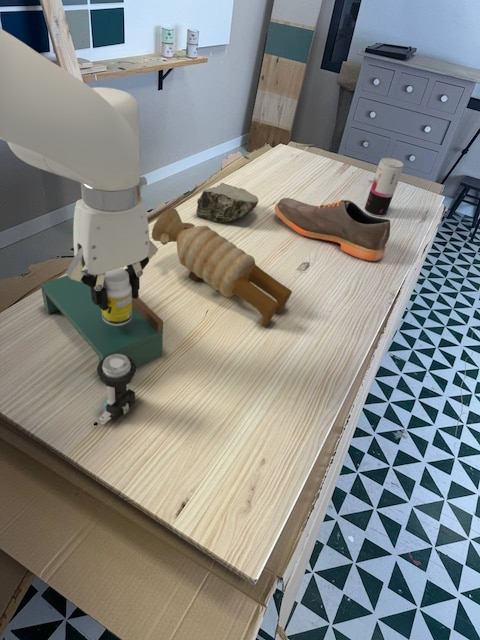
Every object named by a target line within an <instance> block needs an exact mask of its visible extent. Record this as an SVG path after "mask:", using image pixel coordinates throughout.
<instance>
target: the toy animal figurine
mask: <svg viewBox="0 0 480 640" xmlns="http://www.w3.org/2000/svg"><path fill="white" fill-rule="evenodd" d="M151 238H152V240H153V241H154V242H160V244H161V245H162V246H165V245H168V243H171V242H173V243H174V242H175V243H176V249H177V258H178V261H179V263H180V265H181V266H183V267H185V268H186V269H187V270H188V271H189V274H188V278H189V279H190V280H192V281H193V282H195V283H197V282H199V281H200V280H201V279H202V280H203V281H204V282H205V283H206V284H208V285H210V286H211V287H212V288H213V289H214V290H215V291H216V293H218V292H220V294H221V295H222V296H224V297H227V298H231V297H233V296H235V295H236V296H238V297H239V298H241V299H242V300H243V301H245V302H246V303H248V305H251V306H252V307H253V308H254V309H255V310H257V311H258V313H259V314H260V315H261V316H262V320H261V322H260V326H262V327H263V328H265V327H267V326H268V325H269V324H270V323H271V321H272V319H273V317H274V315H275V314H277V315H279V314H280V313H281V312H282V311H283V310H284V309H285V307H286V305H287V303H288V301H289V299H290V297H291V295H292V294H293V291H292V290H291V289H290V288H288V287H287V286H286V285H284V284H282V283H281V282H280V281H278V280H276V279H275V278H274V277H273V276H271V275H270V274H268V273H267V272H265V271H264V269H262V268H261V267H259V266H258V265H257V264H256V260H255V258H254V256H252V255H250V254H248V253H246V252H245V251H244V250H243V249H241V248H240V247H238V246H237V245H235V244H234V243H233V242H231V241H229V240H228V239H227V238H225V237H224V236H222V235H220V234H219V233H218V232H217V231H215V230H213V229H211V228H210V227H209V226H208V225H197V226H195V224H193V223H191V222H183V221H182V219H181V216H180V214H179V212H178V210H177V208H175V207H171V208H168V209H165V210H164V211H162V213H161V214H160V215H159V217H158V218H157V219H156V221H155V222H154V224H153V228H152V230H151Z"/></svg>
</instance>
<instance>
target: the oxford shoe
mask: <svg viewBox="0 0 480 640" xmlns="http://www.w3.org/2000/svg"><path fill="white" fill-rule="evenodd" d="M274 213H275V214H276V216H277V217H278V218H279V219H280V220H281V221H282V222H283V223H284V224H285V225H286V226H288V227H289V228H290V229H291V230H293V231H294V232H296V233H298V234H299V235H301V236H304V237H306V238H311V239H317V240H323V241H330V242H335V243H338V244H340V251H342V252H344V253H346V254H349V255H350V256H353V257H355V258H357V259H360V260H363V261H369V262H375V261H380V260H381V259H383V257H384V255H385V251H386V245H387V244H388V241H389V238H390V234H391V219H389V218H383V217H377V216H374V215H371V214H369V213H367V212H366V211H363V210H362V209H361V208H360V206H358V205H357V204H356V203H355V202H353V201H351V200H348V199H340V200H337V201H336V202H331V203H327V204H325V205H324V204H320V205H313V204H307V203H306V202H302V201H299V200H296V199H295V198H291V197H290V198H289V197H283V198H281V199H280V200H279V201H278V202H277V203H276V204H275V205H274Z"/></svg>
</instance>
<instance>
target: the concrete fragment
mask: <svg viewBox="0 0 480 640" xmlns="http://www.w3.org/2000/svg"><path fill="white" fill-rule="evenodd" d="M196 203H197V205H196V212H195V213H196V217H199V218H203V219H206V220H211V221H212V222H217V223H220V222H223V223H227V222H232V221H235V220H238V219H241V218H245V217H247V216H248V215H250V214H251V213H252V212H253V210H254V209H255V208H256V207H257V205H258V204H259V197H258V196H257V195H255V194H252V193H251V192H249V191H248V190H246V189H245V188H242V187H239V188H238V187H237V186H234V185H230V184H227V183H224V182H220V183H219V185H216V186H213V187H208V188H205V189H203V190H202V192H201V194H200V196H199V198H197V201H196Z"/></svg>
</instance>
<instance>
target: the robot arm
mask: <svg viewBox="0 0 480 640" xmlns="http://www.w3.org/2000/svg"><path fill="white" fill-rule="evenodd" d="M0 140H1V141H5V142H6V143H7V146H8V147H9V148H10V150H11V151H12V153H13V154H14V155H15V156H16V157H17V158H18V159H20V160H21V161H23V163H26V164H27V165H30V166H32V167H34V168H37V169H39V170H42V171H46V172H48V173H51V174H54V175H56V176H59V177H63V178H66V179H69V180H71V181H74V182H77V183H80V192H81V194H80V195H81V199H80V198H79V199H78V200H76V202H75V207H74V213H73V225H72V226H73V227H72V228H73V231H72V232H73V233H72V234H73V236H72V239H73V254H74V258H73V259H72V260H71V262H70V264H69V266H68V267H67V269H66V271H65V275H66V276H67V275H68V277H69V278H70V279H72V280H75V281H79V282H83V283H84V284H86V285H88V286H90V287H91V298H92V301H93V303H94V304H95V305H98V306H99V307H100V308H101V309H102V310H103V311H105V310H107V308H108V304H107V290H106V289H105V288H104V287H103V283H104V279H105V274H106V272H109V271H112V270H115V269H118V268H121V269H122V268H124V267H126V268H124V270H126V271H127V272H128V274H129V283H130V284H131V287H132V298H134V299H137V298H139V299H140V297H139V296H140V295H139V292H140V291H139V290H140V288H141V287H140V283H141V281H140V279H141V277H142V276H143V274H144V270H145V268H146V266H147V265H148V264H149V263H150V260H151V259H152V258H153V257H154V256H155V255H156V254H157V253H158V251H159V248H158V246H157V245H155V244H154V243H153V242H152V241H151V239H150V230H149V229H150V228H149V220H148V213H147V209H146V205H145V201H144V198H143V196H141V189H142V188H143V187H147V186H148V181H147V178H146V177H145V176H141V170H140V169H141V167H140V166H141V165H140V162H141V161H140V151H141V150H140V108H139V104H138V101H137V99H136V98H135V97H134V96H133V95H132V94H130V93H129V92H127V91H124V90H121V89H118V88H112V87H101V86H99V87H97V86H96V87H91V86H90V85H88V84H86V83H85V82H84V81H82V80H81V79H79V78H78V77H76V76H75V75H74V74H72V73H71V72H69V71H68V70H66V69H64V68H63V67H61V66H59V65H58V64H57V63H54V62H53V61H51V60H49V59H48V58H46V57H45V56H44V55H42V54H41V53H39V52H38V51H36V50H35V49H33V48H32V47H30V46H29V45H27V44H26V43H25V42H23V41H21V40H20V39H18V38H17V37H15V36H14V35H12V34H11V33H9V32H7V31H6V30H4V29H2V28H0ZM84 267H85V268H86V269H87V270H88V272H87V273H86V272H84V271H83V270H84Z"/></svg>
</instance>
